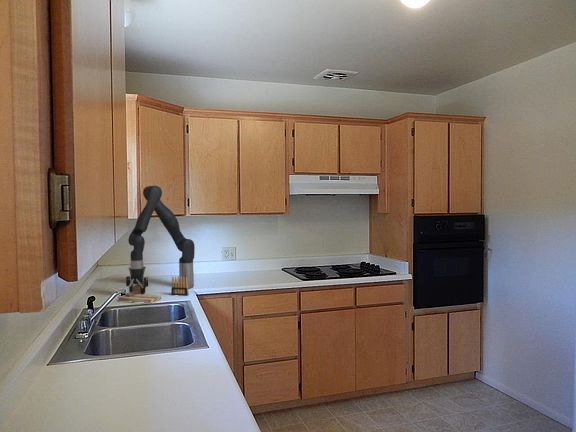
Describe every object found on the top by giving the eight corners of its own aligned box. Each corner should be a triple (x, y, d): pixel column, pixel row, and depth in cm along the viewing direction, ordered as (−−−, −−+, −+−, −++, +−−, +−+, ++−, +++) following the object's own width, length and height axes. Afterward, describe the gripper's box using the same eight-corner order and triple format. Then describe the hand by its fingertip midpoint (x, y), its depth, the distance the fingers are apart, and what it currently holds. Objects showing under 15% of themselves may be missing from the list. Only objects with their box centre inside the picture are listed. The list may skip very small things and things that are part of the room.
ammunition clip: (188, 295, 248) (188, 276, 248) (187, 295, 246) (187, 276, 246) (172, 294, 250) (172, 275, 249) (171, 295, 248) (170, 276, 247)
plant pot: (131, 285, 275) (131, 269, 274) (126, 283, 284) (125, 267, 284) (148, 283, 282) (148, 267, 282) (142, 280, 292) (142, 265, 291)
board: (129, 297, 243) (129, 293, 243) (160, 299, 237) (160, 295, 237) (118, 301, 233) (118, 297, 233) (150, 304, 227) (150, 299, 227)
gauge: (136, 295, 246) (136, 283, 246) (143, 296, 245) (143, 284, 245) (123, 300, 235) (123, 287, 235) (130, 301, 234) (130, 288, 233)
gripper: (150, 266, 245) (151, 292, 246) (130, 265, 249) (131, 291, 249) (143, 268, 238) (143, 295, 238) (122, 267, 242) (123, 294, 242)
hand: (137, 293), depth 244 cm, fingers open, 8 cm apart
